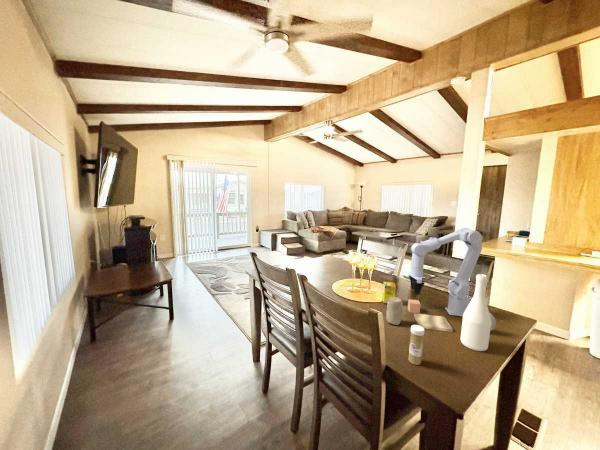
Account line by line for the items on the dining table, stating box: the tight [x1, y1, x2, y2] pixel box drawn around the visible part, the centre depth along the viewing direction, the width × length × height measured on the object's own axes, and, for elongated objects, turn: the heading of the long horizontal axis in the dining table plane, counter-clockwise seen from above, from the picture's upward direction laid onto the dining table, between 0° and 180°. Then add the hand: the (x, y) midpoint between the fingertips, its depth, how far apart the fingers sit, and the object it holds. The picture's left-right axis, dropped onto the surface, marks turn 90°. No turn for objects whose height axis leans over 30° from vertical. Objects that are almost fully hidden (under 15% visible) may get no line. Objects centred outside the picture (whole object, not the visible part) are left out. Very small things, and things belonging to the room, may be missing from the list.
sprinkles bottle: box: [407, 324, 425, 366], centre depth 96 cm, size 5×5×13 cm
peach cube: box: [407, 299, 421, 314], centre depth 137 cm, size 5×5×5 cm
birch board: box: [413, 313, 454, 333], centre depth 124 cm, size 14×12×1 cm
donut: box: [489, 312, 497, 332], centre depth 118 cm, size 10×4×10 cm, turn 63°
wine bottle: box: [459, 273, 491, 352], centre depth 105 cm, size 10×10×30 cm
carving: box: [385, 296, 404, 326], centre depth 124 cm, size 6×8×12 cm
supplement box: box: [382, 281, 397, 305], centre depth 146 cm, size 6×6×11 cm
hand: (415, 291), depth 136 cm, fingers open, 7 cm apart
